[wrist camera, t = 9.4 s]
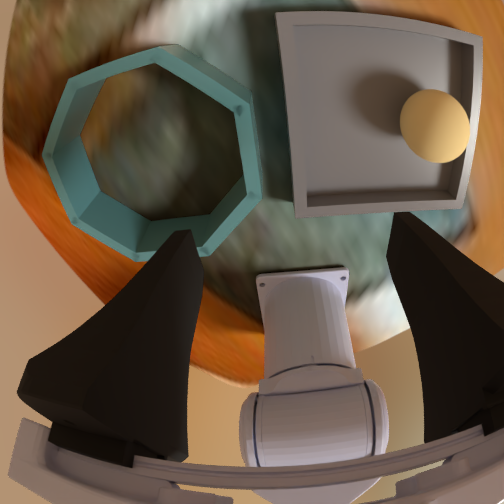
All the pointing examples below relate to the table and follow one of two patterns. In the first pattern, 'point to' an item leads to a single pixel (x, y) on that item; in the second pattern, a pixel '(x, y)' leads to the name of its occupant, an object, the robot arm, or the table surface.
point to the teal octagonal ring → (118, 215)
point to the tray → (371, 110)
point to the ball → (435, 126)
